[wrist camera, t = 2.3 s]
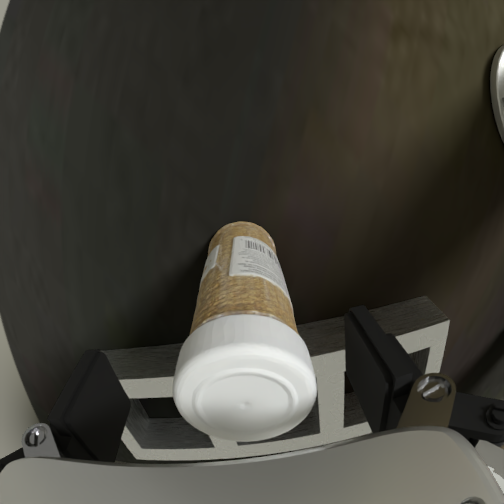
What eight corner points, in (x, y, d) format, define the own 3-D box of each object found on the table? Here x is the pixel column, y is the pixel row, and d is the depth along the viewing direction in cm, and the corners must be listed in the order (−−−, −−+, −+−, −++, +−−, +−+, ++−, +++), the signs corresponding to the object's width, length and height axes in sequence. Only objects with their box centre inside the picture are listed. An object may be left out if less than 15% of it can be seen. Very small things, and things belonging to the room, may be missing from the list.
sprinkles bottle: (195, 245, 21) (139, 389, 8) (251, 205, 20) (266, 319, 8) (235, 295, 22) (231, 459, 10) (289, 260, 22) (343, 411, 9)
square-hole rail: (425, 295, 23) (449, 320, 19) (412, 387, 27) (427, 413, 23) (98, 350, 24) (81, 380, 20) (144, 430, 28) (136, 459, 24)
